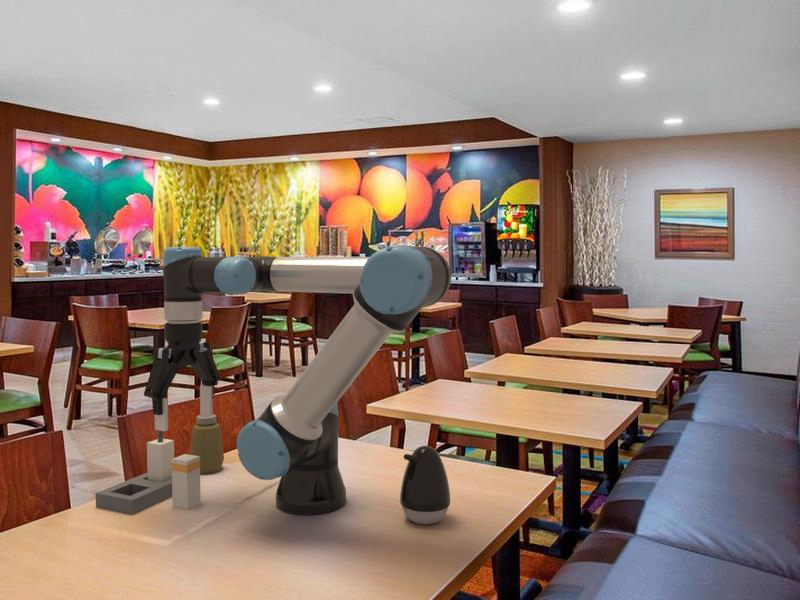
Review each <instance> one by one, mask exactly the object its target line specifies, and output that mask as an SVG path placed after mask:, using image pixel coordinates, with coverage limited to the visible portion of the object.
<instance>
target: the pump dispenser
mask: <svg viewBox="0 0 800 600" xmlns="http://www.w3.org/2000/svg"><path fill="white" fill-rule="evenodd" d="M403 459H404V460H405V461H408V462H407V465H406V467H405V470H404V474H403V477H402V483H401V487H400V495H399V498H400V499H399V502H400V505H401V507H402V510H403V513H404V515H405V516H406V517H407V519H408V520H410V521H411V522H413V523H416V524H419V525H432V524H436V523H438V522H439V521H441V520H443V518H444V517H445V515H447V512H448V510H449V506H450V505H451V490H450V486H449V485H450V484H449V480H448V475H447V471H446V469H445V465H444V463H443V460H442V458H441V456H440V454H439V452H438V451H437V450H436V449H435V448H433V447H432V446H430V445H421V446H419V447H417V448H415V450H414V451H413V452H412V454H409V453H405V454H404V455H403Z"/></svg>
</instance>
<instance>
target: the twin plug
mask: <svg viewBox="0 0 800 600" xmlns="http://www.w3.org/2000/svg"><path fill="white" fill-rule="evenodd" d="M156 431H157V433H156V434H157V439H154V440H151V441H147V443H146V455H147V456H146V460H147V467H146V468H147V472H148V480H151V481H157V482H164V481H166V480H169V479H171V478H172V471H171V463H172V459H173V458H175V441H174V439H167V438H164V431H160V430H156Z"/></svg>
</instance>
